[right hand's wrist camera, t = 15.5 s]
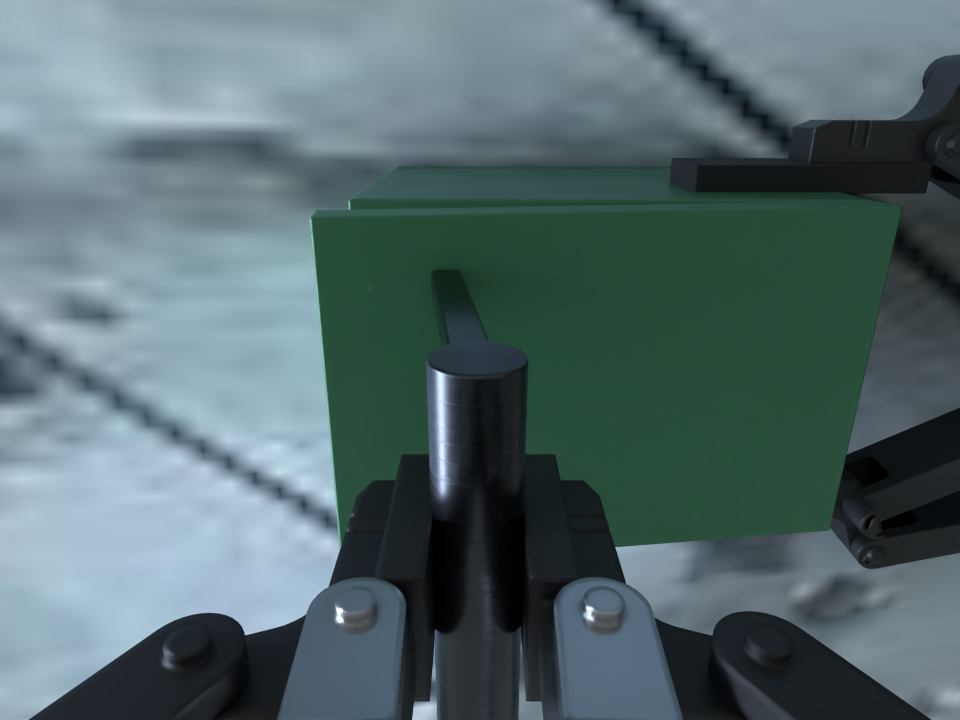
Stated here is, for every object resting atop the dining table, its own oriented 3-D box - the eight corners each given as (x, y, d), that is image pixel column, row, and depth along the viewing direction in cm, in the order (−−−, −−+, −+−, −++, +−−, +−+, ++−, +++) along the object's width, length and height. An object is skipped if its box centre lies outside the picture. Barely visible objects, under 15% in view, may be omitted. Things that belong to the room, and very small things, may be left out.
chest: (406, 380, 30) (368, 505, 21) (397, 166, 27) (346, 199, 17) (708, 381, 30) (809, 508, 20) (737, 166, 26) (874, 200, 17)
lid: (344, 543, 19) (312, 828, 11) (315, 210, 15) (241, 304, 8) (808, 509, 20) (1044, 739, 13) (872, 200, 17) (1241, 272, 10)
